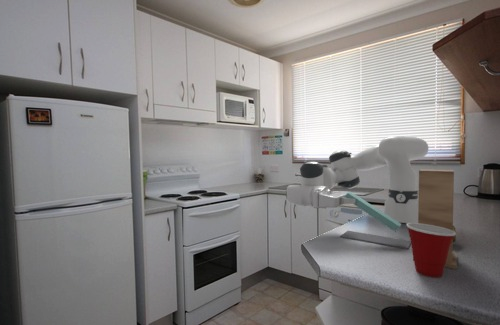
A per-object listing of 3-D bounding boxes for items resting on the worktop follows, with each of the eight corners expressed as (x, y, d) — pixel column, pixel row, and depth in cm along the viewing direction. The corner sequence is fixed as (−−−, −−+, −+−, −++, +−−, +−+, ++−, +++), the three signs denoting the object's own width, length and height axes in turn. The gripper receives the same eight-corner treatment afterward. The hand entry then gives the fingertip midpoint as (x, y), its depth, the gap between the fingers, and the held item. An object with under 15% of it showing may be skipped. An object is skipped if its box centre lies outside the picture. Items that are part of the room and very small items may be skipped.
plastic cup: (467, 281, 65) (468, 232, 65) (424, 283, 65) (425, 233, 64) (433, 263, 76) (434, 221, 76) (396, 264, 75) (397, 221, 75)
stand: (417, 249, 87) (418, 169, 87) (456, 256, 81) (458, 169, 81) (413, 260, 78) (414, 170, 78) (456, 269, 72) (458, 171, 72)
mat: (347, 231, 108) (347, 230, 108) (411, 242, 95) (411, 240, 95) (340, 237, 101) (340, 235, 101) (408, 249, 88) (408, 248, 88)
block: (347, 196, 105) (350, 191, 104) (397, 229, 95) (401, 224, 94) (344, 197, 102) (347, 192, 101) (395, 232, 92) (399, 226, 91)
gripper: (331, 201, 118) (365, 204, 109) (311, 208, 101) (349, 213, 93) (331, 186, 118) (365, 189, 109) (311, 191, 101) (349, 195, 93)
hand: (358, 200), depth 101 cm, fingers closed on block, 4 cm apart
